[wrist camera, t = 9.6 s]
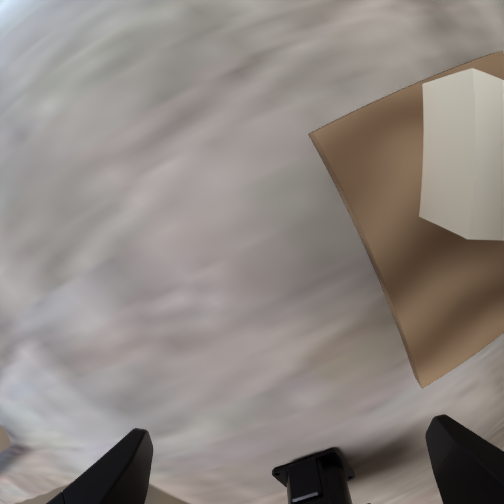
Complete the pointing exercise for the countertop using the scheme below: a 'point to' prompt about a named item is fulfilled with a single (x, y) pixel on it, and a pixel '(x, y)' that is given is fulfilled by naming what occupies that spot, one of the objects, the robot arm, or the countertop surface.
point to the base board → (415, 231)
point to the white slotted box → (464, 154)
